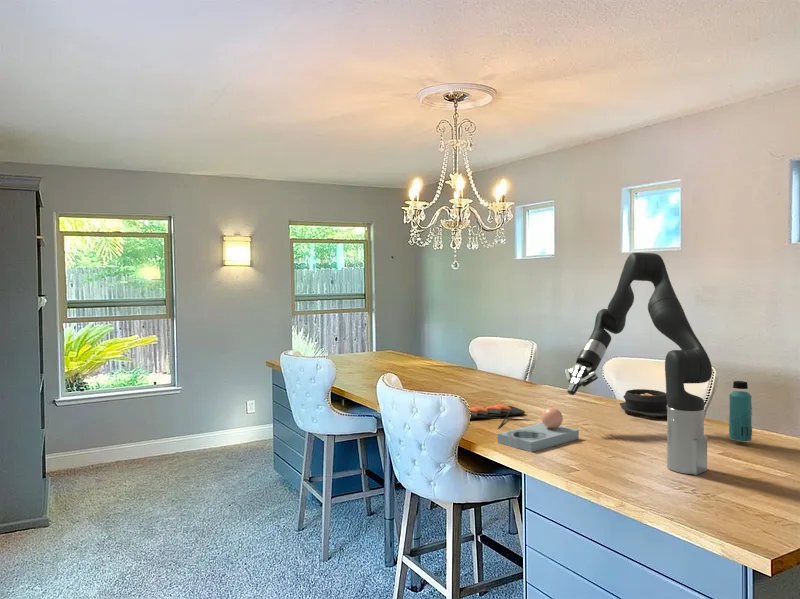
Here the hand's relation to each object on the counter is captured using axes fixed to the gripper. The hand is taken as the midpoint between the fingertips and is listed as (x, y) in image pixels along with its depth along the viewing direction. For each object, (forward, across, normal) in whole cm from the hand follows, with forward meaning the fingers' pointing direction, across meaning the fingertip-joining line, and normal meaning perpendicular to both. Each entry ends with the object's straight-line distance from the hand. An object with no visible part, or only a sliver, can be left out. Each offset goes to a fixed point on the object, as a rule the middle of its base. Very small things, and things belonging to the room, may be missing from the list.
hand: (570, 393), depth 205 cm
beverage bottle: (-12, +43, +31) cm, 54 cm away
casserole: (-23, +1, +43) cm, 49 cm away
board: (+22, 0, -2) cm, 22 cm away
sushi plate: (+14, -31, +7) cm, 34 cm away
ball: (+12, 0, -2) cm, 12 cm away
